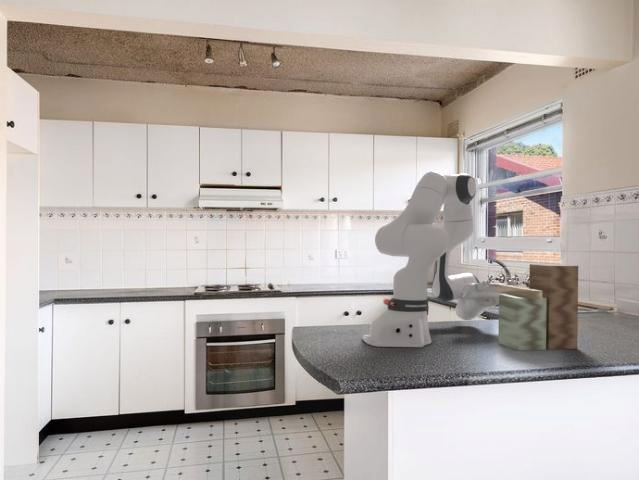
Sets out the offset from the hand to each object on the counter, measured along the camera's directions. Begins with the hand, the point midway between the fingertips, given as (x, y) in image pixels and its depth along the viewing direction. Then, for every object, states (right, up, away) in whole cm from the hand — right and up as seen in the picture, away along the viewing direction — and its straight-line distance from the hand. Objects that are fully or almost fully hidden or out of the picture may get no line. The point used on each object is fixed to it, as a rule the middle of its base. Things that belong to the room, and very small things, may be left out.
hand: (499, 282), depth 158 cm
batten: (+2, -3, -10) cm, 10 cm away
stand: (+7, -19, -12) cm, 24 cm away
